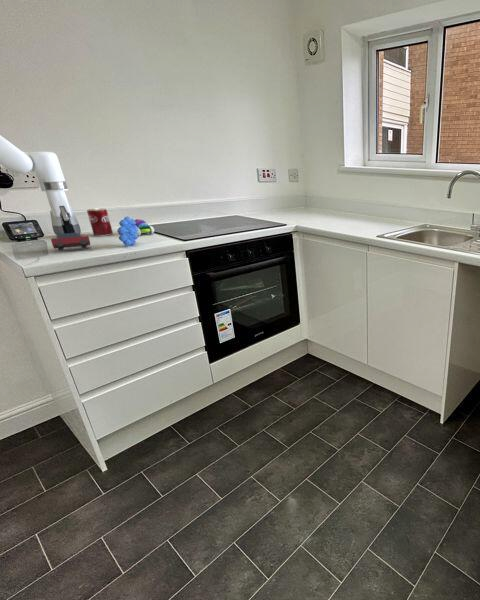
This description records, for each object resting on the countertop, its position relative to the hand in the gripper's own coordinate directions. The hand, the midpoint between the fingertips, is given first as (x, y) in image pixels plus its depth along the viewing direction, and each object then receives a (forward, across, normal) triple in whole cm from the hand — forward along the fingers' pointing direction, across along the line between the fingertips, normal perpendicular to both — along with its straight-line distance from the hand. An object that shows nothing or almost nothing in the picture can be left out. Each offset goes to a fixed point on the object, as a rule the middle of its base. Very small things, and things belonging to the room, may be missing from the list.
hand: (70, 234), depth 140 cm
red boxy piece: (+4, -1, -1) cm, 4 cm away
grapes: (+6, +6, +17) cm, 19 cm away
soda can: (+6, -26, +13) cm, 30 cm away
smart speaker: (+6, -30, +1) cm, 31 cm away
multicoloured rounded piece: (+7, -18, +27) cm, 33 cm away
